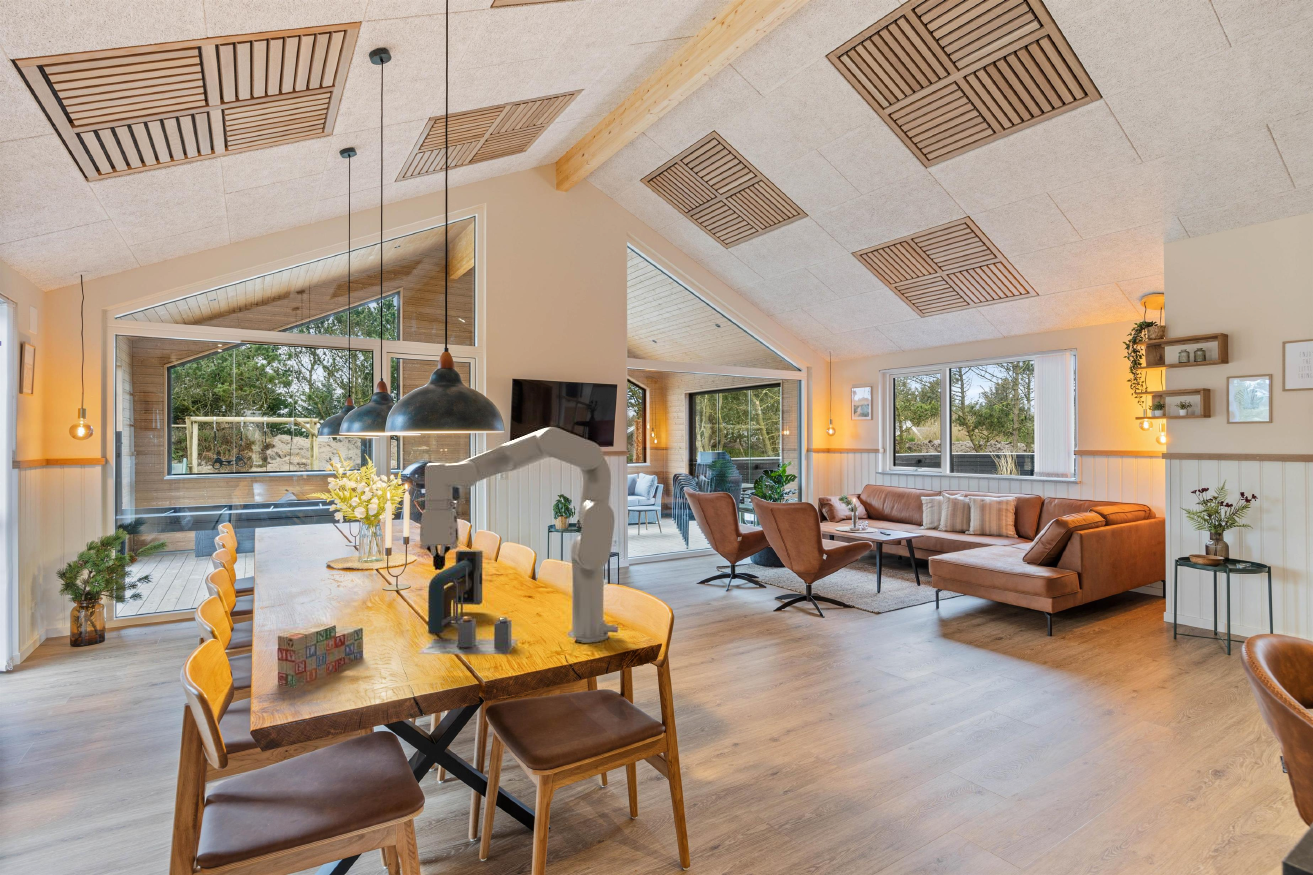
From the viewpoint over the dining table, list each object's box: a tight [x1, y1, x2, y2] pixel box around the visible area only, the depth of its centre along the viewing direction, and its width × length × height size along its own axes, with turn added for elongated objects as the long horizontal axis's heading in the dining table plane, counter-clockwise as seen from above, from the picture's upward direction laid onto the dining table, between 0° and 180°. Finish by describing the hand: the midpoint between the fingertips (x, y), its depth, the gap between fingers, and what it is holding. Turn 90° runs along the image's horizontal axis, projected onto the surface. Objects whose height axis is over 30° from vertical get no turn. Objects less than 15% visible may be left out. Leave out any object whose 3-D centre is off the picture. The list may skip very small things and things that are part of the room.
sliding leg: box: [457, 615, 477, 647], centre depth 196 cm, size 4×4×8 cm
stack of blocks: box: [277, 622, 364, 688], centre depth 178 cm, size 21×6×12 cm, turn 157°
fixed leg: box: [493, 616, 512, 648], centre depth 196 cm, size 4×4×8 cm
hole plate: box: [417, 638, 519, 655], centre depth 196 cm, size 25×14×1 cm, turn 90°
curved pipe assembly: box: [426, 549, 483, 635], centre depth 223 cm, size 35×9×21 cm, turn 175°
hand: (439, 568), depth 197 cm, fingers closed
